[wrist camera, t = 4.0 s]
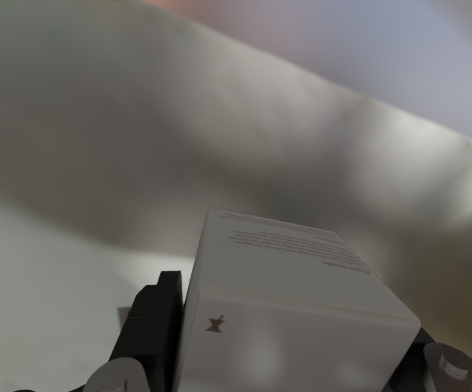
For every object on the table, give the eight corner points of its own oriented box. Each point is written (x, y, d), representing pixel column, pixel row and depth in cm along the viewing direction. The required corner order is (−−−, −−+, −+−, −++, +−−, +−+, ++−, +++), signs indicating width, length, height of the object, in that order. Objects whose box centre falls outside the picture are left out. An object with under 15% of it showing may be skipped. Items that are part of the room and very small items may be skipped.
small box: (179, 316, 11) (155, 458, 7) (206, 201, 10) (197, 284, 5) (295, 332, 12) (345, 468, 8) (338, 229, 11) (436, 322, 6)
